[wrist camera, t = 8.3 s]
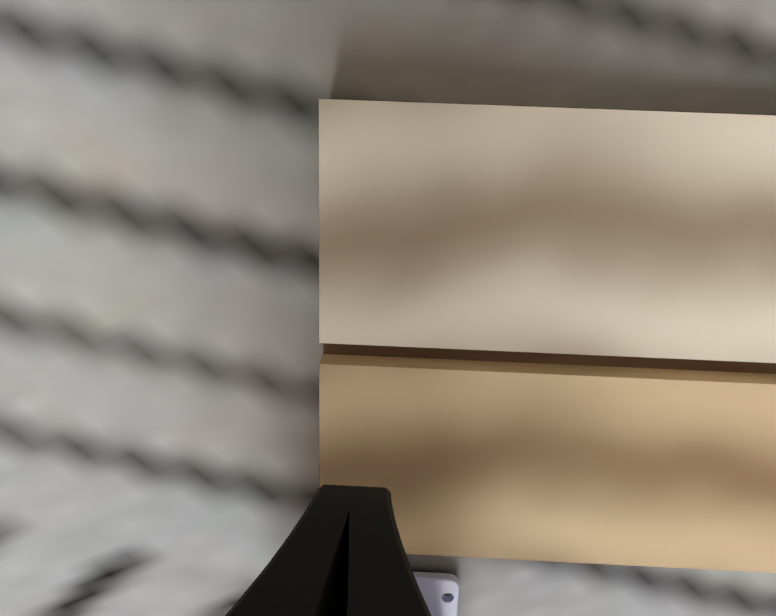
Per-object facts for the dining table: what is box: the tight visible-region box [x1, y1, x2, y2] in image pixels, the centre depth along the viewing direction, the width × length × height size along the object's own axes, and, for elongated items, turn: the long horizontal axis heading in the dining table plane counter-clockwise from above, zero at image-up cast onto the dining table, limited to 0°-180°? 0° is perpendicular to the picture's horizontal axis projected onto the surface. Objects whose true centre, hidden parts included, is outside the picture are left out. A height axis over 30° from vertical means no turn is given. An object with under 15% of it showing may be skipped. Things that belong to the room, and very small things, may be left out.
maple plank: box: [319, 99, 776, 363], centre depth 18 cm, size 8×24×2 cm, turn 88°
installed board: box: [319, 343, 776, 573], centre depth 20 cm, size 9×24×2 cm, turn 88°
